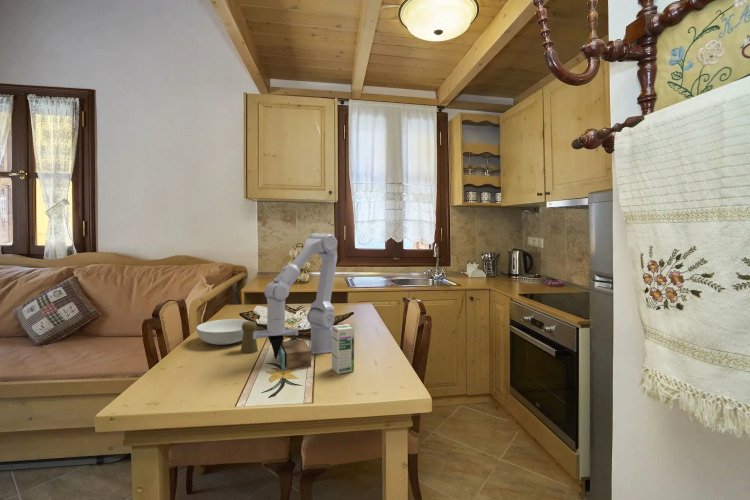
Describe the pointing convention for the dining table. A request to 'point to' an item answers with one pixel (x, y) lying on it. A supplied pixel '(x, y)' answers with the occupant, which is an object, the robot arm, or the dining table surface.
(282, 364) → the teal door
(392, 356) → the dining table surface
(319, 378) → the dining table surface
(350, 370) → the syrup box
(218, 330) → the serving bowl
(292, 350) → the walnut cabinet
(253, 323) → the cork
